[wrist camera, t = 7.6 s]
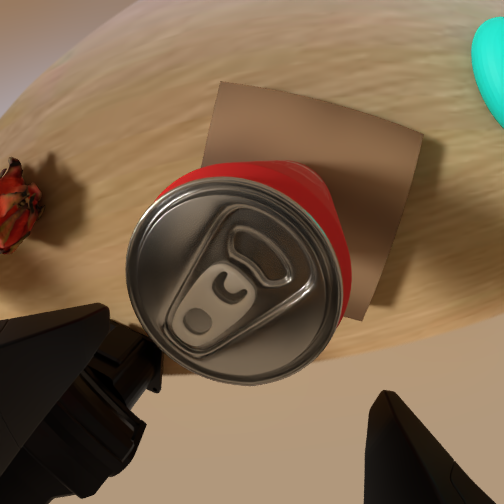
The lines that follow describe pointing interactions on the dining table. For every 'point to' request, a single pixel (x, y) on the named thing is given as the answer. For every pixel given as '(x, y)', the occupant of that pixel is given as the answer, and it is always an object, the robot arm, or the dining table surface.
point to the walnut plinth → (326, 165)
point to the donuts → (490, 65)
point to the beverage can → (241, 270)
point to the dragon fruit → (16, 207)
